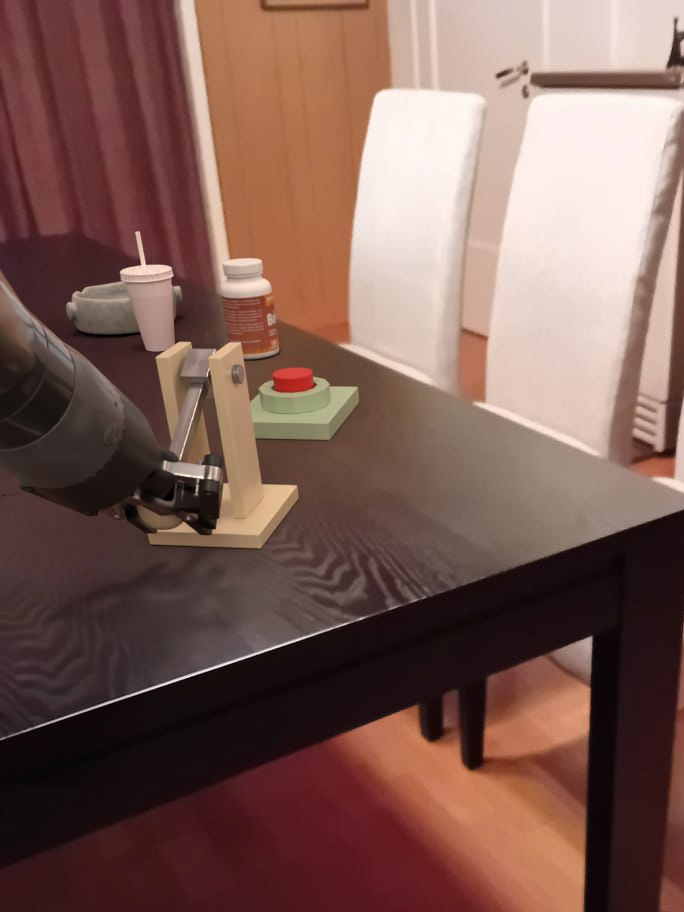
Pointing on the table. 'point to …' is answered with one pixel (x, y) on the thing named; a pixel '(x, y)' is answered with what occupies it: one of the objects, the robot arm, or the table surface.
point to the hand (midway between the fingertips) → (180, 521)
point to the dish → (108, 309)
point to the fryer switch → (225, 454)
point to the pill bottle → (249, 308)
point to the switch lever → (186, 422)
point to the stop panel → (302, 411)
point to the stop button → (293, 380)
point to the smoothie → (151, 301)
